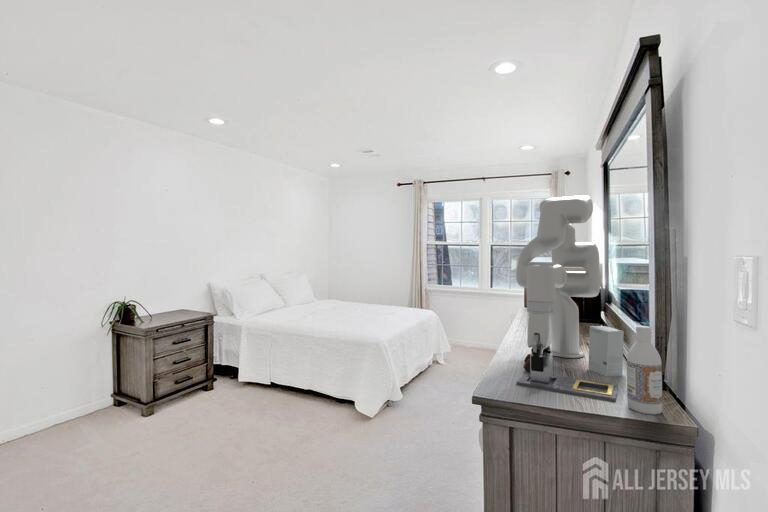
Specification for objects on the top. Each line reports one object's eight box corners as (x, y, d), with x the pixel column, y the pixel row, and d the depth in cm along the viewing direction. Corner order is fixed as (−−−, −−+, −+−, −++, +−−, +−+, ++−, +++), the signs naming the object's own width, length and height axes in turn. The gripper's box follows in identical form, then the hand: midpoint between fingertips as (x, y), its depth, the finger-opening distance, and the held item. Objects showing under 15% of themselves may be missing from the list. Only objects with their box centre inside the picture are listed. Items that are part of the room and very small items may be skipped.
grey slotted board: (527, 377, 119) (527, 370, 119) (618, 391, 105) (618, 384, 105) (516, 388, 109) (516, 381, 109) (615, 405, 95) (615, 397, 95)
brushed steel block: (534, 378, 114) (534, 350, 114) (552, 381, 111) (552, 352, 111) (530, 383, 110) (530, 354, 110) (549, 386, 107) (548, 356, 107)
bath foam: (645, 416, 88) (644, 329, 89) (620, 405, 95) (619, 324, 95) (669, 413, 90) (668, 328, 90) (643, 403, 97) (642, 323, 97)
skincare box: (587, 372, 123) (587, 325, 123) (604, 371, 124) (604, 325, 124) (607, 380, 115) (606, 330, 115) (625, 379, 116) (624, 329, 116)
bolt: (533, 369, 134) (536, 381, 119) (520, 361, 135) (521, 371, 121) (542, 355, 133) (546, 365, 119) (529, 347, 134) (530, 356, 120)
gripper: (534, 304, 120) (534, 359, 119) (519, 309, 106) (519, 372, 105) (560, 305, 116) (560, 362, 115) (548, 311, 101) (549, 376, 101)
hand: (541, 367), depth 110 cm, fingers open, 9 cm apart
